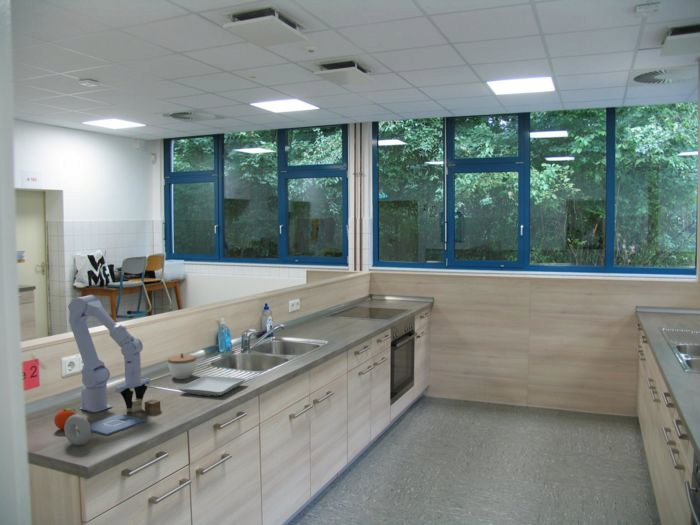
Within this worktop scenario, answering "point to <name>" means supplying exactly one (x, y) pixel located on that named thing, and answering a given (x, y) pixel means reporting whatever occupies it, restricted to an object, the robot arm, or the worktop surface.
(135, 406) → the maple block
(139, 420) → the board
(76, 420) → the donut
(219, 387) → the salad plate
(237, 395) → the worktop surface
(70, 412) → the clementine
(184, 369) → the lidded bowl
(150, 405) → the walnut block
